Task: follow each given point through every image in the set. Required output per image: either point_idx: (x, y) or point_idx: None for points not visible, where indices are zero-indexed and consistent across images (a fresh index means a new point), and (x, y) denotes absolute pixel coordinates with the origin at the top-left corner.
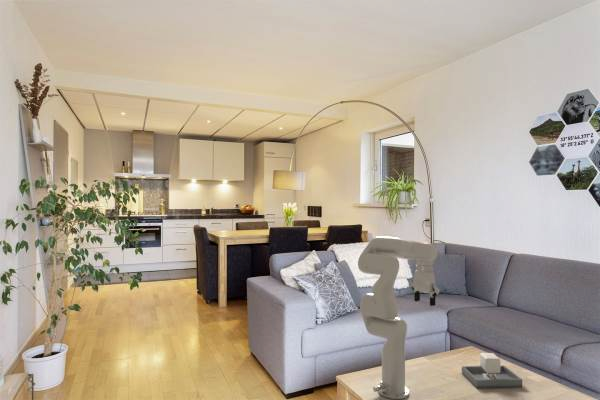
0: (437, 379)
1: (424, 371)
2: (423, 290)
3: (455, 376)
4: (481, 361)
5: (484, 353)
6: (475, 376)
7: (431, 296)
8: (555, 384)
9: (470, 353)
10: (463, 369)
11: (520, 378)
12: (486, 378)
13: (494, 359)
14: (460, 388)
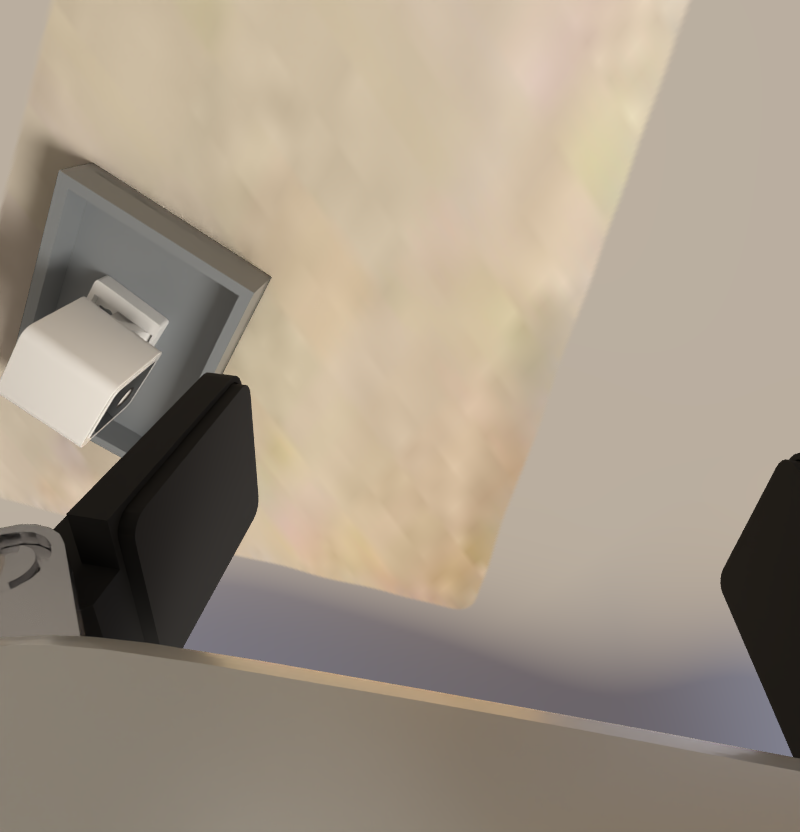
0: (289, 46)
1: (432, 83)
2: (241, 787)
3: (264, 208)
4: (122, 353)
5: (95, 402)
6: (182, 285)
7: (17, 566)
8: (23, 500)
9: (422, 549)
10: (234, 274)
11: None
12: (107, 285)
13: (8, 368)
14: (125, 67)
